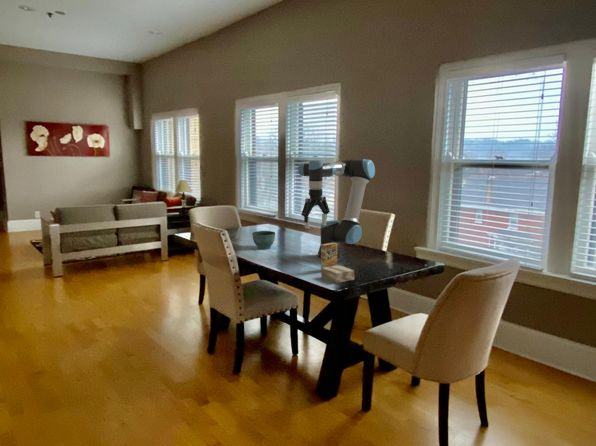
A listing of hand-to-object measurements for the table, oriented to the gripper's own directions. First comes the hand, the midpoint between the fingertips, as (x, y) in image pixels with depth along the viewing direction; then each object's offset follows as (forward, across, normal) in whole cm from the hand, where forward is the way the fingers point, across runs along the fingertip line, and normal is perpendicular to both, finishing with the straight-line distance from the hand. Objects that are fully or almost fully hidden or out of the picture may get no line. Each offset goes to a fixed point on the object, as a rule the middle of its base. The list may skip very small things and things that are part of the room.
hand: (315, 226), depth 242 cm
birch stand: (+25, +3, +19) cm, 32 cm away
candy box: (+25, -6, +5) cm, 26 cm away
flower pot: (+26, -16, -66) cm, 73 cm away
